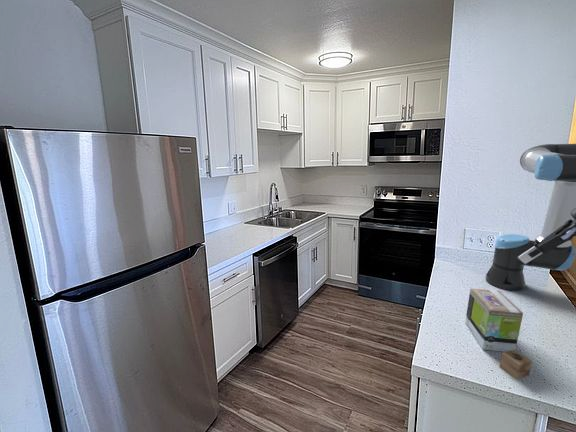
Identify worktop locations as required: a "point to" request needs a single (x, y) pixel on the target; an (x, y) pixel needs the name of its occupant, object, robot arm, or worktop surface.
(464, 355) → the worktop surface
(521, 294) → the worktop surface
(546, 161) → the robot arm
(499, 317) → the tea box
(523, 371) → the walnut block
